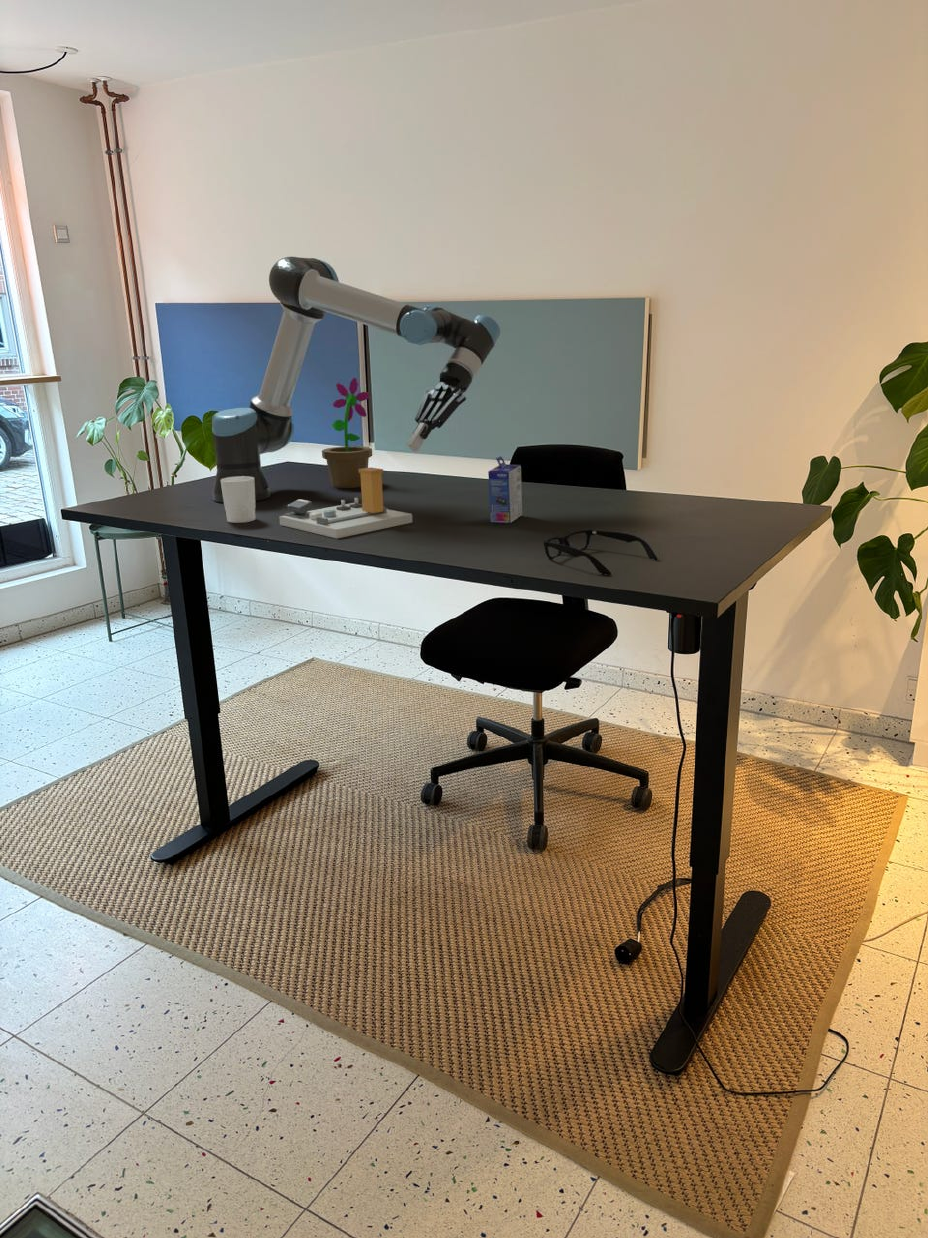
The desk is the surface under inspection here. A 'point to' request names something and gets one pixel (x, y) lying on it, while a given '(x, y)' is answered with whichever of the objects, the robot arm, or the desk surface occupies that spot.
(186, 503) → the desk surface
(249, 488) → the white cup
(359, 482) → the flowerpot
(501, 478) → the ink cartridge box
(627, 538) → the glasses
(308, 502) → the rocker
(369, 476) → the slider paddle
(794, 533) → the desk surface
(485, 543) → the desk surface
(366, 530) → the console
